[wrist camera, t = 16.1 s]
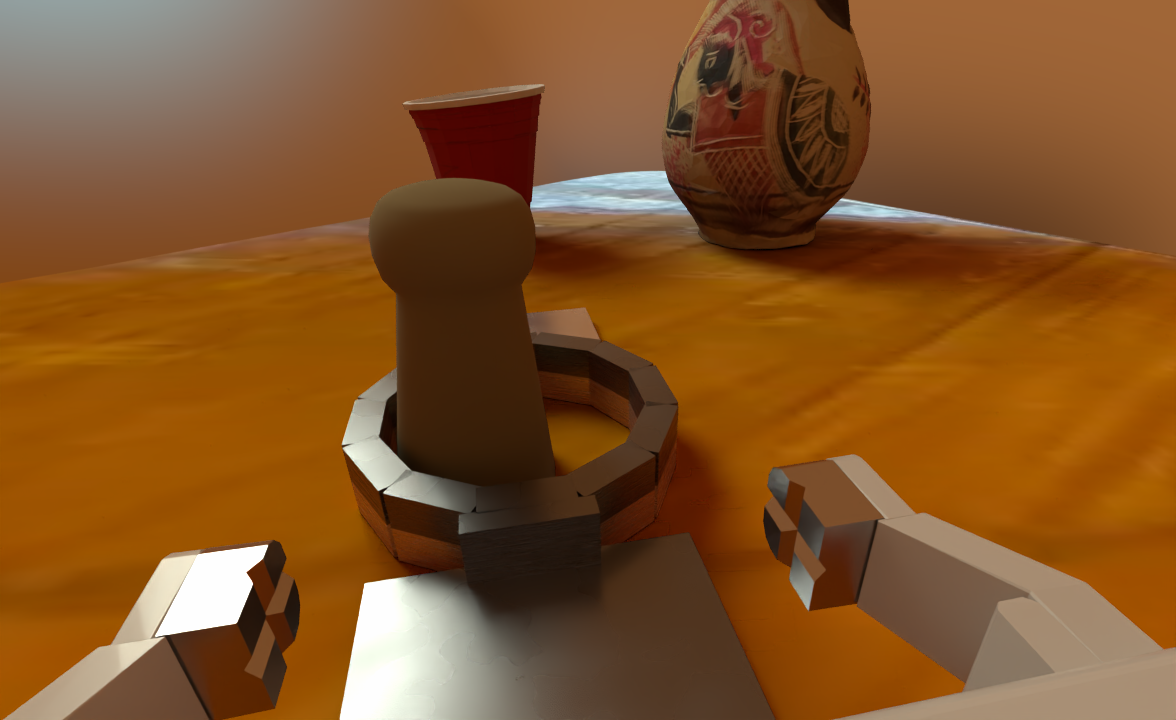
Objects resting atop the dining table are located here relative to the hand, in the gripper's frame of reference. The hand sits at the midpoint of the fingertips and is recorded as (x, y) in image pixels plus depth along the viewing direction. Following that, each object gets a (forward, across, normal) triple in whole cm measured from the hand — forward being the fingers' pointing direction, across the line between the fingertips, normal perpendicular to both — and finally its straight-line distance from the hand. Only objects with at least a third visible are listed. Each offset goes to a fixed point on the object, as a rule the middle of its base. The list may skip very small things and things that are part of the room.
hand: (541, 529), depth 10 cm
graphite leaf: (+9, 0, +7) cm, 11 cm away
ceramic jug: (+38, -22, +8) cm, 45 cm away
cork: (+12, +2, +8) cm, 14 cm away
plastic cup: (+43, 0, +8) cm, 44 cm away
